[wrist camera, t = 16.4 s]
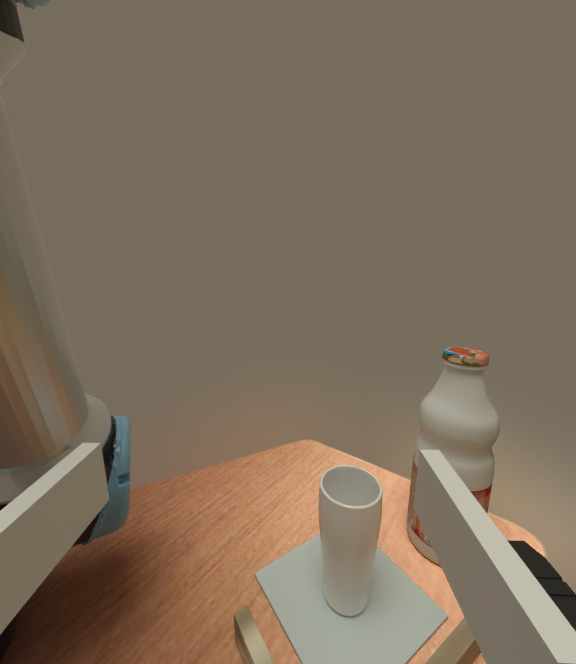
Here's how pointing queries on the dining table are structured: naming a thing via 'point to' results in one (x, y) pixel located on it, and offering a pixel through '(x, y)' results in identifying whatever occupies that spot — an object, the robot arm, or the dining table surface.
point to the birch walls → (448, 660)
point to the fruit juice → (457, 432)
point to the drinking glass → (348, 535)
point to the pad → (348, 631)
